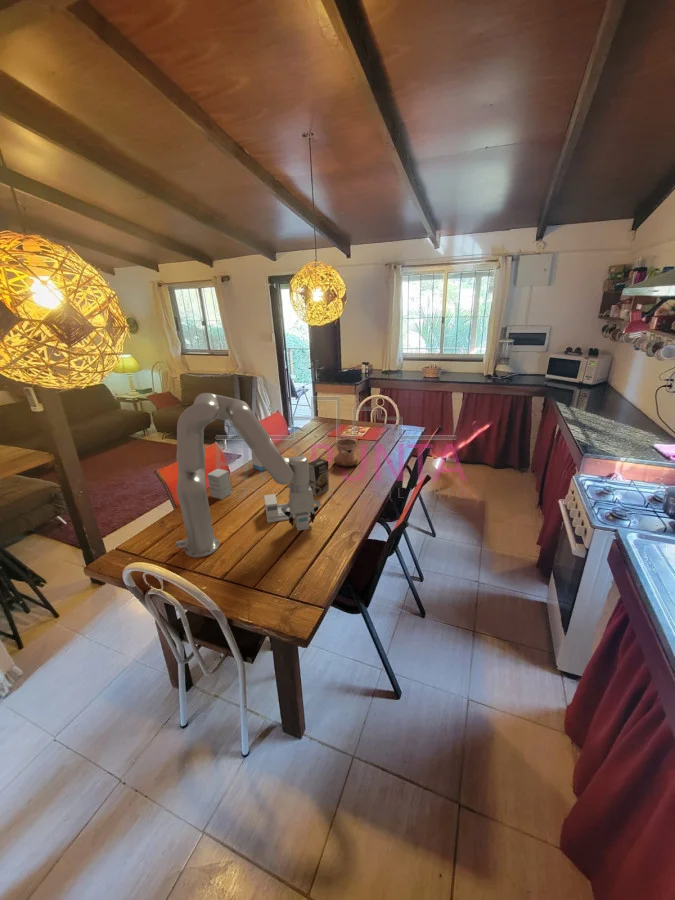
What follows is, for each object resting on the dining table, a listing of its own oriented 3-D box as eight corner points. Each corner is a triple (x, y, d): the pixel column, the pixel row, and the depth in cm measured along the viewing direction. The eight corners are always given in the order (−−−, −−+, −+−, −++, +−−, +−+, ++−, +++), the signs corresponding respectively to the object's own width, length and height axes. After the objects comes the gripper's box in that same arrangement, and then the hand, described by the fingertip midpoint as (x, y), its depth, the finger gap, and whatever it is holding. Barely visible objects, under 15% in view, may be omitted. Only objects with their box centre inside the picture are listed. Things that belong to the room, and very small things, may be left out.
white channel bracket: (267, 522, 150) (266, 506, 147) (265, 508, 160) (263, 493, 158) (312, 515, 155) (312, 500, 152) (307, 502, 166) (306, 487, 163)
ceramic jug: (354, 470, 199) (355, 447, 194) (330, 468, 202) (330, 445, 197) (360, 459, 215) (361, 438, 210) (338, 457, 218) (338, 435, 213)
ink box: (262, 471, 199) (260, 450, 194) (252, 468, 203) (250, 447, 198) (273, 466, 205) (271, 445, 200) (263, 463, 210) (261, 442, 205)
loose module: (297, 531, 144) (296, 516, 141) (295, 524, 149) (294, 510, 146) (309, 529, 145) (308, 514, 143) (306, 522, 150) (306, 508, 147)
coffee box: (316, 496, 171) (315, 466, 165) (307, 492, 175) (306, 463, 170) (329, 489, 178) (328, 461, 172) (320, 485, 182) (319, 457, 176)
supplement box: (221, 490, 178) (217, 468, 173) (232, 493, 175) (229, 470, 170) (210, 496, 172) (206, 473, 167) (221, 499, 169) (218, 476, 164)
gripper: (279, 493, 134) (282, 531, 141) (323, 487, 139) (324, 524, 145) (277, 484, 141) (280, 521, 147) (318, 479, 145) (320, 514, 152)
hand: (302, 522), depth 146 cm, fingers open, 8 cm apart
